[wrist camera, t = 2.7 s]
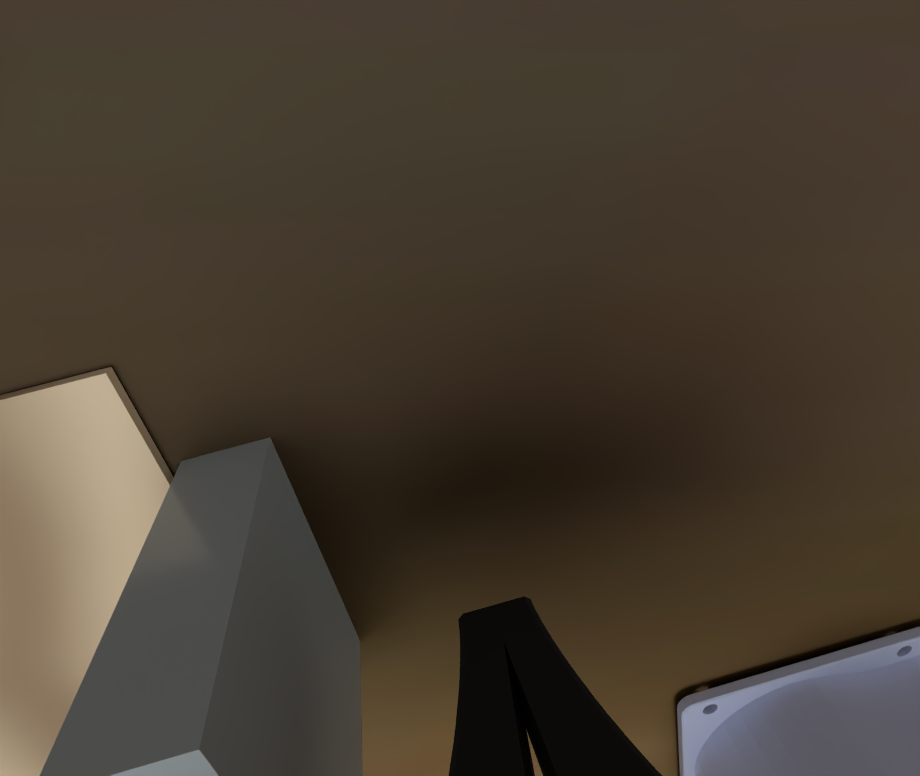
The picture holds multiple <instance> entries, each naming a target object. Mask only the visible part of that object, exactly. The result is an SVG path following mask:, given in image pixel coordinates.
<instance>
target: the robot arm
mask: <svg viewBox="0 0 920 776" xmlns="http://www.w3.org/2000/svg"><path fill="white" fill-rule="evenodd" d="M459 630H460V681H459V695H458V706H457V717H456V728H455V736H454V744H453V751H452V757H451V764H450V771H449V776H535V774H534V769H533V763H532V758H531V753H530V747H529V742H528V737H527V732H528V735H529V738H530V740H531V743H532V746H533V749H534V752H535V754H536V757H537V760H538V763H539V765H540V768H541V771H542V774H543V776H662V775H661V774H660V773H659V772H658V771H657V770H656V769H655V768H654V767H653V766H652V765H651V763H650V762H649V761H648V760H647V759H646V758H645V757H644V756H643V755H642V754H641V752H640V751H639V750H638V749H637V748H636V747H635V746H634V744H633V743H632V742H631V741H630V740H629V739H628V738H627V736H626V735H625V734H624V733H623V732H622V730H621V729H620V728H619V727H618V726H617V725H616V723H615V722H614V721H613V720H612V719H611V717H610V716H609V715H608V714H607V713H606V711H605V710H604V709H603V708H602V706H601V705H600V704H599V703H598V701H597V700H596V699H595V698H594V696H593V695H592V694H591V692H590V691H589V690H588V688H587V687H586V686H585V684H584V683H583V682H582V680H581V679H580V678H579V676H578V675H577V674H576V672H575V671H574V670H573V668H572V667H571V666H570V664H569V663H568V661H567V660H566V659H565V657H564V656H563V654H562V653H561V651H560V650H559V648H558V647H557V645H556V644H555V642H554V641H553V639H552V638H551V636H550V634H549V633H548V631H547V629H546V628H545V626H544V624H543V623H542V621H541V619H540V617H539V615H538V614H537V612H536V610H535V608H534V606H533V604H532V601H531V599H529V598H526V597H521V598H517V599H514V600H510V601H507V602H503V603H500V604H496V605H493V606H489V607H486V608H482V609H479V610H475V611H472V612H468V613H464V614H463V615H462V616H461V617H460V618H459ZM677 720H678V743H679V766H680V776H920V626H919V627H915V628H912V629H909V630H905V631H902V632H899V633H895V634H892V635H889V636H885V637H882V638H878V639H875V640H872V641H868V642H865V643H862V644H858V645H855V646H852V647H848V648H845V649H841V650H838V651H835V652H831V653H828V654H825V655H821V656H818V657H815V658H811V659H808V660H804V661H801V662H798V663H794V664H791V665H788V666H784V667H781V668H778V669H774V670H771V671H767V672H764V673H761V674H757V675H754V676H751V677H747V678H744V679H741V680H737V681H734V682H730V683H727V684H724V685H720V686H717V687H714V688H710V689H707V690H704V691H700V692H697V693H693V694H690V695H688V696H685V697H684V698H683V699H681V700H680V702H679V703H678V706H677ZM526 729H527V731H526Z"/></svg>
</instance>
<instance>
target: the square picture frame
mask: <svg viewBox="0 0 920 776" xmlns="http://www.w3.org/2000/svg"><path fill="white" fill-rule="evenodd" d="M40 776H363V775H362V719H361V663H360V640H359V637H358V635H357V633H356V631H355V628H354V626H353V624H352V621H351V619H350V617H349V615H348V612H347V610H346V608H345V606H344V603H343V601H342V599H341V597H340V594H339V592H338V590H337V588H336V585H335V583H334V581H333V579H332V576H331V574H330V572H329V569H328V567H327V565H326V563H325V560H324V558H323V556H322V554H321V551H320V549H319V547H318V545H317V542H316V540H315V538H314V536H313V533H312V531H311V529H310V526H309V524H308V522H307V520H306V517H305V515H304V513H303V511H302V508H301V506H300V504H299V502H298V499H297V497H296V495H295V493H294V490H293V488H292V486H291V483H290V481H289V479H288V477H287V474H286V472H285V470H284V468H283V465H282V463H281V461H280V459H279V456H278V454H277V452H276V450H275V447H274V445H273V443H272V440H271V438H266V439H262V440H258V441H254V442H251V443H247V444H243V445H239V446H236V447H232V448H228V449H224V450H221V451H217V452H213V453H209V454H206V455H202V456H198V457H194V458H191V459H187V460H183V461H181V463H180V465H179V467H178V469H177V471H176V474H175V476H174V478H173V480H172V483H171V485H170V487H169V489H168V491H167V494H166V496H165V498H164V500H163V503H162V505H161V507H160V509H159V511H158V514H157V516H156V518H155V520H154V522H153V525H152V527H151V529H150V531H149V534H148V536H147V538H146V540H145V542H144V545H143V547H142V549H141V551H140V554H139V556H138V558H137V560H136V562H135V565H134V567H133V569H132V571H131V574H130V576H129V578H128V580H127V582H126V585H125V587H124V589H123V591H122V594H121V596H120V598H119V600H118V602H117V605H116V607H115V609H114V611H113V614H112V616H111V618H110V620H109V622H108V625H107V627H106V629H105V631H104V634H103V636H102V638H101V640H100V642H99V645H98V647H97V649H96V651H95V654H94V656H93V658H92V660H91V662H90V665H89V667H88V669H87V671H86V674H85V676H84V678H83V680H82V682H81V685H80V687H79V689H78V691H77V694H76V696H75V698H74V700H73V702H72V705H71V707H70V709H69V711H68V714H67V716H66V718H65V720H64V722H63V725H62V727H61V729H60V731H59V734H58V736H57V738H56V740H55V742H54V745H53V747H52V749H51V751H50V754H49V756H48V758H47V760H46V762H45V765H44V767H43V769H42V771H41V774H40Z"/></svg>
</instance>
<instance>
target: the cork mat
mask: <svg viewBox="0 0 920 776" xmlns="http://www.w3.org/2000/svg"><path fill="white" fill-rule="evenodd" d="M173 478H174V477H173V475H172V474H171V472H170V470H169V468H168V467H167V465H166V463H165V461H164V459H163V458H162V456H161V454H160V452H159V451H158V449H157V447H156V445H155V443H154V442H153V440H152V438H151V436H150V435H149V433H148V431H147V429H146V427H145V426H144V424H143V422H142V420H141V419H140V417H139V415H138V413H137V411H136V410H135V408H134V406H133V404H132V402H131V401H130V399H129V397H128V395H127V394H126V392H125V390H124V388H123V386H122V385H121V383H120V381H119V379H118V378H117V376H116V374H115V372H114V370H113V369H112V367H108V368H104V369H100V370H97V371H93V372H89V373H85V374H81V375H77V376H73V377H69V378H65V379H61V380H58V381H54V382H50V383H46V384H42V385H38V386H34V387H30V388H26V389H23V390H19V391H15V392H11V393H7V394H3V395H0V776H40V774H41V771H42V769H43V767H44V765H45V762H46V760H47V758H48V756H49V754H50V751H51V749H52V747H53V745H54V742H55V740H56V738H57V736H58V734H59V731H60V729H61V727H62V725H63V722H64V720H65V718H66V716H67V714H68V711H69V709H70V707H71V705H72V702H73V700H74V698H75V696H76V694H77V691H78V689H79V687H80V685H81V682H82V680H83V678H84V676H85V674H86V671H87V669H88V667H89V665H90V662H91V660H92V658H93V656H94V654H95V651H96V649H97V647H98V645H99V642H100V640H101V638H102V636H103V634H104V631H105V629H106V627H107V625H108V622H109V620H110V618H111V616H112V614H113V611H114V609H115V607H116V605H117V602H118V600H119V598H120V596H121V594H122V591H123V589H124V587H125V585H126V582H127V580H128V578H129V576H130V574H131V571H132V569H133V567H134V565H135V562H136V560H137V558H138V556H139V554H140V551H141V549H142V547H143V545H144V542H145V540H146V538H147V536H148V534H149V531H150V529H151V527H152V525H153V522H154V520H155V518H156V516H157V514H158V511H159V509H160V507H161V505H162V503H163V500H164V498H165V496H166V494H167V491H168V489H169V487H170V485H171V483H172V480H173Z"/></svg>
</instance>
